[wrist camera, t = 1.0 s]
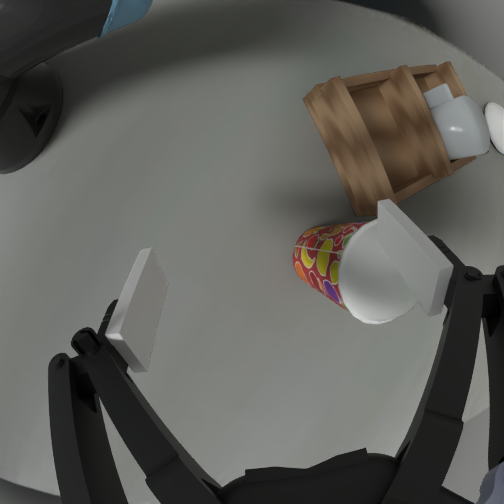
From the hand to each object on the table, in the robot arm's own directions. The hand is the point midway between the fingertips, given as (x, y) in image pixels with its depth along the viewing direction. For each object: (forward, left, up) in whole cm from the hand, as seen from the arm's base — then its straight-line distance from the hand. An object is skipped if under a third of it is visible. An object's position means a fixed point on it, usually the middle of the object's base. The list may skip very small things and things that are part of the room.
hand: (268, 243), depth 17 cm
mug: (-2, +33, -15) cm, 36 cm away
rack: (-3, +27, -16) cm, 32 cm away
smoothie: (+7, +8, -17) cm, 20 cm away
